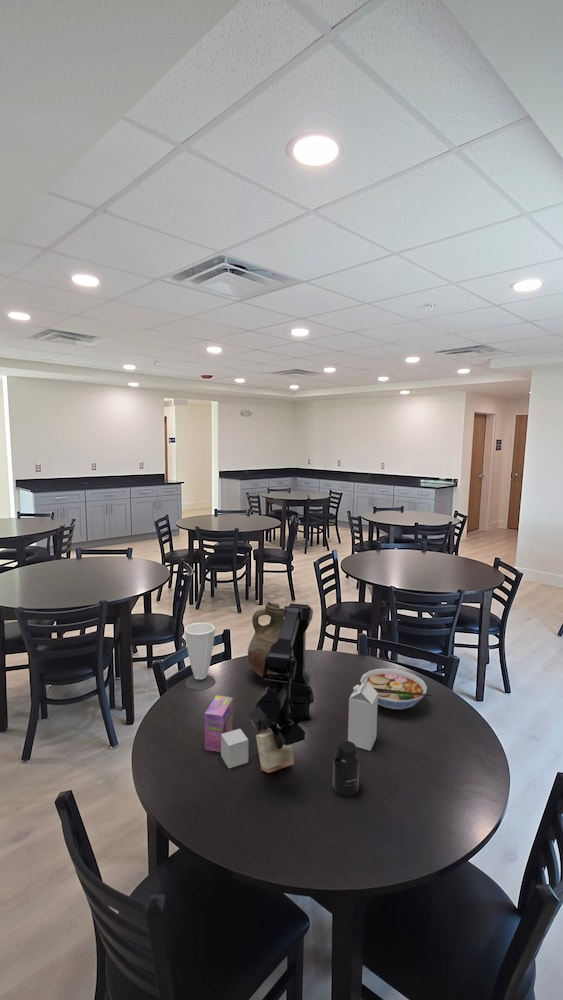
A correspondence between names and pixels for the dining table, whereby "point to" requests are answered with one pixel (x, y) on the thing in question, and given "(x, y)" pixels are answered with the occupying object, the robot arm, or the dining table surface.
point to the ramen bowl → (396, 687)
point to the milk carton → (363, 716)
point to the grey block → (234, 748)
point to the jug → (264, 636)
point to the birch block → (273, 753)
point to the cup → (200, 654)
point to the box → (218, 721)
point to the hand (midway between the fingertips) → (279, 748)
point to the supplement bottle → (346, 769)
